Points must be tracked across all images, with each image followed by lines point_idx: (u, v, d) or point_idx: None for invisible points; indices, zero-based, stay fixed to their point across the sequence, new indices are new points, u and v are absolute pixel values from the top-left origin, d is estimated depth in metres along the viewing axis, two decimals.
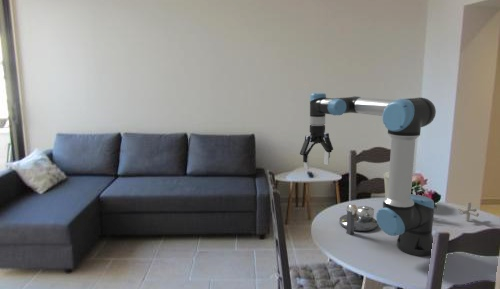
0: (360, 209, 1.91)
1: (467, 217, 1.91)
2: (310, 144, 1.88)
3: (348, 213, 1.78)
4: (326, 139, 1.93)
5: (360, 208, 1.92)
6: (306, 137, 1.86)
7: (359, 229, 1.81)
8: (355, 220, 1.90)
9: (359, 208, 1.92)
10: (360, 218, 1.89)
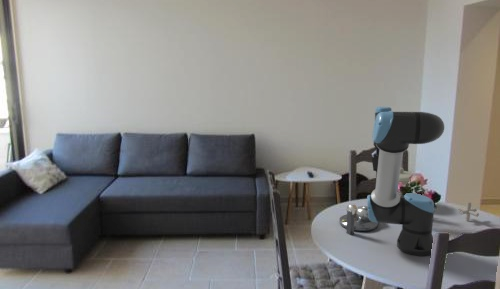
0: (360, 209, 1.91)
1: (467, 217, 1.91)
2: (378, 160, 1.90)
3: (348, 213, 1.78)
4: None
5: (360, 208, 1.92)
6: (372, 155, 1.88)
7: (359, 229, 1.81)
8: (355, 220, 1.90)
9: (359, 208, 1.92)
10: (360, 218, 1.89)
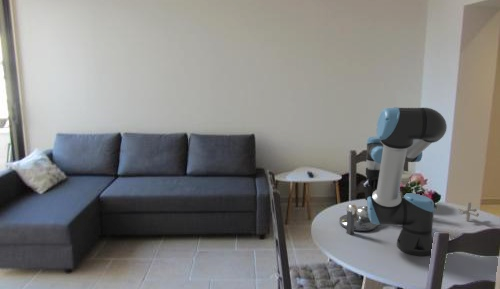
0: (360, 209, 1.91)
1: (467, 217, 1.91)
2: (370, 189, 1.90)
3: (348, 213, 1.78)
4: None
5: (360, 208, 1.92)
6: (364, 185, 1.88)
7: (359, 229, 1.81)
8: (355, 220, 1.90)
9: (359, 208, 1.92)
10: (360, 218, 1.89)
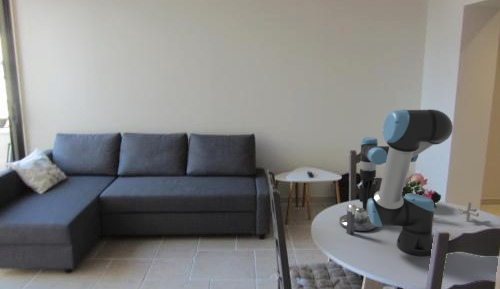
0: None
1: (467, 217, 1.91)
2: (364, 190, 1.88)
3: (348, 213, 1.78)
4: (372, 186, 1.91)
5: None
6: (358, 187, 1.86)
7: (359, 229, 1.81)
8: None
9: None
10: (354, 220, 1.87)
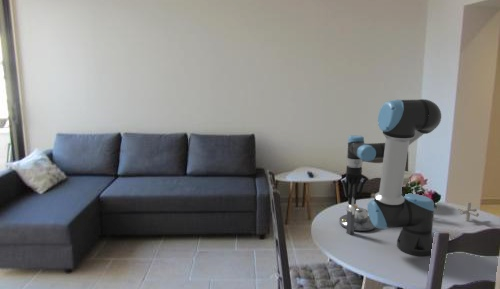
0: None
1: (467, 217, 1.91)
2: None
3: (348, 213, 1.78)
4: None
5: None
6: None
7: (357, 229, 1.81)
8: None
9: None
10: None
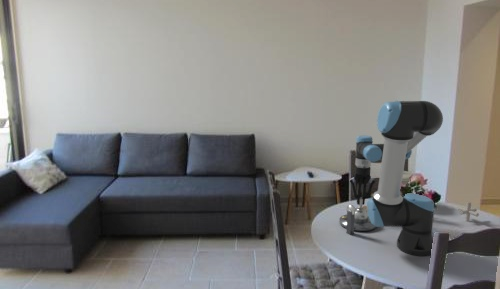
0: None
1: (467, 217, 1.91)
2: None
3: (348, 213, 1.78)
4: (353, 184, 1.96)
5: (356, 209, 1.91)
6: None
7: None
8: None
9: None
10: None
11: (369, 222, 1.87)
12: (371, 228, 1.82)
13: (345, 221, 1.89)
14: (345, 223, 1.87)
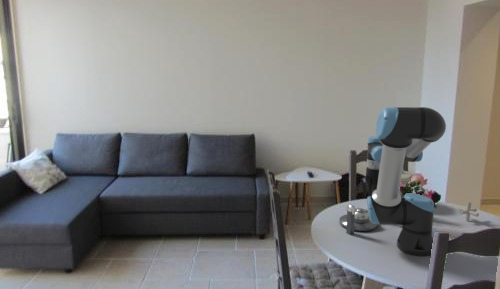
0: None
1: (467, 217, 1.91)
2: (376, 188, 1.91)
3: (348, 213, 1.78)
4: (365, 184, 1.94)
5: None
6: None
7: (341, 223, 1.88)
8: None
9: (357, 209, 1.91)
10: None
11: (366, 224, 1.85)
12: (361, 229, 1.81)
13: (344, 218, 1.92)
14: (342, 219, 1.91)
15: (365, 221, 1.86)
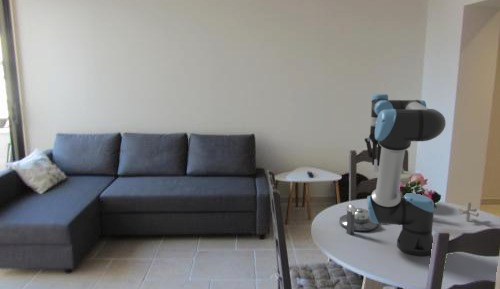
0: None
1: (467, 217, 1.91)
2: (381, 147, 1.91)
3: (348, 213, 1.78)
4: (369, 143, 1.94)
5: None
6: None
7: (341, 223, 1.88)
8: None
9: (357, 209, 1.91)
10: None
11: (366, 224, 1.85)
12: (361, 229, 1.81)
13: (344, 218, 1.92)
14: (342, 219, 1.91)
15: (365, 221, 1.86)
